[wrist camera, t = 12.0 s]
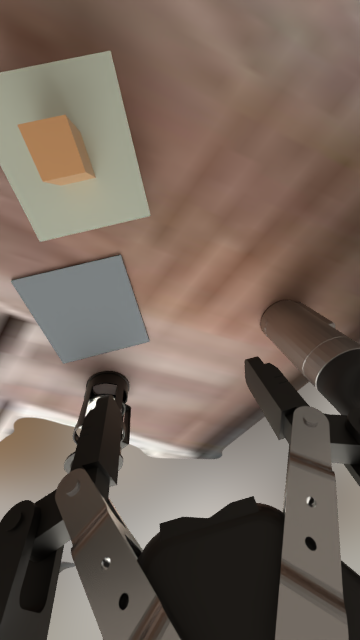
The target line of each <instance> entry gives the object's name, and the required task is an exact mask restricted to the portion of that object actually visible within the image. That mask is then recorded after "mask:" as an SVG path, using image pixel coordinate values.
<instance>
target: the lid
mask: <svg viewBox="0 0 360 640" xmlns="http://www.w3.org/2000/svg"><path fill="white" fill-rule="evenodd" d="M0 165H1V167H2V169H3V171H4V173H5V175H6V177H7V179H8V181H9V183H10V185H11V187H12V188H13V190H14V192H15V194H16V196H17V198H18V200H19V202H20V204H21V206H22V208H23V210H24V212H25V214H26V216H27V218H28V219H29V221H30V223H31V225H32V227H33V229H34V231H35V233H36V235H37V237H38V239H39V241H40V242H41V241H46V240H50V239H54V238H58V237H63V236H67V235H71V234H76V233H80V232H84V231H88V230H93V229H97V228H101V227H105V226H110V225H114V224H118V223H122V222H127V221H131V220H135V219H140V218H144V217H148V216H150V212H149V208H148V203H147V199H146V195H145V191H144V187H143V183H142V179H141V175H140V170H139V166H138V162H137V158H136V154H135V150H134V146H133V142H132V138H131V133H130V129H129V125H128V121H127V117H126V113H125V109H124V105H123V101H122V96H121V92H120V88H119V84H118V80H117V76H116V72H115V68H114V64H113V59H112V55H111V51H106V52H101V53H96V54H91V55H86V56H81V57H76V58H71V59H66V60H61V61H56V62H50V63H45V64H40V65H35V66H30V67H25V68H20V69H15V70H10V71H5V72H0Z"/></svg>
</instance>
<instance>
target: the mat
mask: <svg viewBox="0 0 360 640" xmlns="http://www.w3.org/2000/svg"><path fill="white" fill-rule="evenodd" d="M11 282H12V284H13V286H14V287H15V289H16V290H17V292H18V293H19V295H20V297H21V298H22V300H23V301H24V303H25V304H26V306H27V307H28V309H29V311H30V312H31V314H32V315H33V317H34V318H35V320H36V322H37V323H38V325H39V326H40V328H41V329H42V331H43V333H44V334H45V336H46V337H47V339H48V340H49V342H50V344H51V345H52V347H53V348H54V350H55V351H56V353H57V355H58V356H59V358H60V359H61V361H62V362H63V364H64V363H68V362H72V361H76V360H80V359H84V358H88V357H92V356H95V355H99V354H103V353H107V352H111V351H115V350H119V349H123V348H127V347H131V346H135V345H139V344H143V343H146V342H149V338H148V335H147V332H146V329H145V326H144V323H143V320H142V317H141V314H140V311H139V308H138V305H137V302H136V299H135V296H134V293H133V290H132V287H131V284H130V281H129V278H128V275H127V272H126V268H125V265H124V262H123V259H122V256H121V255H117V256H113V257H109V258H104V259H100V260H96V261H92V262H87V263H83V264H79V265H75V266H70V267H66V268H62V269H57V270H53V271H49V272H45V273H40V274H36V275H32V276H28V277H23V278H19V279H15V280H12V281H11Z"/></svg>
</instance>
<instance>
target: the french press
mask: <svg viewBox="0 0 360 640" xmlns="http://www.w3.org/2000/svg"><path fill="white" fill-rule="evenodd" d="M104 383H107V384H114V385H117V388H116V395H112V396H113V397H114V399H115V401H116V403H117V405H118V407H119V409H120V411H121V414H122V430H123V434H122V431H121V442H120V454H119V465H118V471H119V470H120V469H121V468H122V465H123V457H122V456H121V448H124V447H126V446H127V445H128V444H129V437H130V417H131V407H130V406H128V405H127V404H125V403H126V402H127V398H128V391H129V382H128V380H127V379H126V377H124V376H123V375H122V374H120V373H117V372H113V371H104V372H99V373H97V374H95V375H93V376H92V377H91V378H90V379H89V380H88V382H87V385H86V392H85V395H84V402H83V405H82V409H81V412H80V416H79V419H78V422H77V424H76V426H75V429H74V433H73V440H74V442H75V443H76V444H78V440H79V438H80V437H79V436H78V435H77V433H76V430H77V429H78V428H79V427H80V426H82V425H83V421H84V418H85V417H86V415H87V414H88V412H89V410H92V409H95V405H96V401H97V399H98V398H100V397H104V396H107V395H111V394H99V395H96V394H95V393H94V391H93V389H92V388H93V386H96V385H99V384H104ZM124 413H125V416H124ZM123 417H124V422H123ZM74 455H75V452H74V453H73V454H71V455H70V456H68V458H67V459H66V460H65V464H64V469H65V471H66V472H67V473H69V472H70V470H71V467H72V463H73V459H74Z"/></svg>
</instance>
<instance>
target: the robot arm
mask: <svg viewBox="0 0 360 640" xmlns="http://www.w3.org/2000/svg"><path fill="white" fill-rule="evenodd" d="M261 329H262V331H263V332H264V334H265V335H266V336H267V337H268V338H269V339H270V340H271V341H272V342H273V343H274V344H275V345H276V346H277V347H278V348H279V350H280V351H281V352H282V353H283V354H284V355H285V356H286V357H287V358H288V359H289V360H290V361H291V362H292V363H293V364H294V365H295V366H296V368H297V369H298V370H299V371H300V372H301V373H302V374H303V375H304V376H305V377H306V378H307V379H308V380H309V381H310V382H311V383H312V384H313V385H314V386H315V387H316V388H317V390H318V391H319V392H320V393H321V394H322V395H323V396H324V397H325V398H326V399H327V400H328V401H329V402H330V403H331V404H332V405H333V406H334V407H335V408H336V409H337V411H338V412H339V413H340V414H341V415H329V414H324V413H322V412H321V411H319V410H318V409H315V408H313V407H310V406H309V405H308V404H307V403H306V402H305V401H304V399H303V398H302V397H301V396H300V395H299V393H298V392H297V391H296V390H295V388H294V387H293V386H292V385H291V384H290V382H288V380H287V379H286V378H285V376H283V374H282V373H281V371H280V370H279V369H278V368H277V367H275V366H274V365H272V364H270V363H266V364H264V363H263V362H262V361H261V359H260V358H259V357H253V358H249V359H246V360H245V379H246V383H247V385H248V387H249V389H250V391H251V393H252V394H253V396H254V398H255V400H256V401H257V403H258V405H259V406H260V408H261V410H262V412H263V413H264V415H265V417H266V418H267V420H268V422H269V423H270V425H271V427H272V429H273V430H274V432H275V434H276V436H277V437H278V439H279V440H280V439H284V438H286V440H287V441H288V443H289V453H288V464H287V474H286V485H285V494H284V504H283V512H281V511H280V510H278V509H276V508H274V507H272V506H269V505H266V504H261V503H256V502H255V499H254V496H252V497H249V498H245V499H242V500H239V501H236V502H232V503H230V504H229V505H227V506H226V507H224V508H223V509H221V510H220V511H219V512H217V513H216V514H214V515H213V516H212V517H210V518H194V517H181V518H178V519H174V520H171V521H167V522H164V523H161V524H160V532H159V533H158V534H157V535H156V536H155V537H153V538H152V539H151V540H150V542H149V543H148V544H147V545H146V547H145V548H144V550H142V548H141V547H140V545H139V544H138V542H137V541H136V539H135V538H134V536H133V535H132V534H131V532H130V531H129V529H128V528H127V526H126V525H125V523H124V521H123V520H122V518H121V516H120V515H119V513H118V512H117V510H116V508H115V507H114V505H113V503H112V502H111V500H110V499H109V497H108V494H109V487H111V486H115V485H117V477H118V465H119V454H120V442H121V431H122V414H121V411H120V409H119V407H118V405H117V403H116V401H115V399H114V397H113V396H112V395H107V396H104V397H100V398H98V399H97V401H96V405H95V409H92V410H89V412H88V414H87V415H86V417H85V418H84V421H83V425H82V430H81V433H80V438H79V440H78V444H77V448H76V451H75V455H74V459H73V463H72V467H71V470H70V472H69V473H68V474H67V475H66V476H65V477H64V478H63V479H62V480H61V482H60V483H59V485H58V487H57V489H56V490H55V491H53V492H52V493H50V494H48V495H47V496H45V497H44V498H42V499H41V500H39V501H37V502H36V503H33V502H31V501H29V500H25V501H22V502H19V503H18V504H16V505H15V506H13V507H12V508H11V509H10V510H9V511H8V512H7V513H6V515H5V516H4V517H3V519H2V520H1V522H0V640H47V635H48V629H49V624H50V618H51V613H52V608H53V602H54V597H55V591H56V586H57V580H58V575H59V570H60V564H61V559H62V553H63V548H64V544H65V543H67V542H68V541H70V540H71V541H72V544H73V547H72V548H71V554H72V558H73V561H74V563H75V566H76V569H77V571H78V574H79V576H80V579H81V582H82V584H83V587H84V589H85V592H86V595H87V597H88V600H89V602H90V605H91V607H92V610H93V613H94V616H95V618H96V621H97V623H98V626H99V629H100V631H101V634H102V637H103V640H360V576H359V575H358V574H357V573H356V572H354V571H353V570H352V569H351V568H350V567H348V566H347V565H346V564H345V563H344V562H343V561H341V556H340V542H339V526H338V510H337V495H336V480H335V474H334V472H333V471H332V467H331V462H332V463H343V464H344V465H345V467H346V468H347V469H348V471H349V472H350V474H351V475H352V476H353V478H354V479H355V481H356V482H357V483H358V485H359V486H360V344H358V343H357V342H355V341H353V340H352V339H350V338H349V337H347V336H346V335H344V334H343V333H341V332H339V331H338V330H336V329H335V324H334V323H333V322H332V321H330V320H328V319H327V318H325V317H324V316H322V315H320V314H319V313H317V312H316V311H314V310H312V309H311V308H309V307H308V306H306V305H304V304H303V303H301V302H299V303H295V302H293V301H290V300H283V301H279V302H277V303H275V304H273V305H272V306H270V307H269V308H268V309H267V310H266V312H265V313H264V315H263V316H262V319H261Z"/></svg>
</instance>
